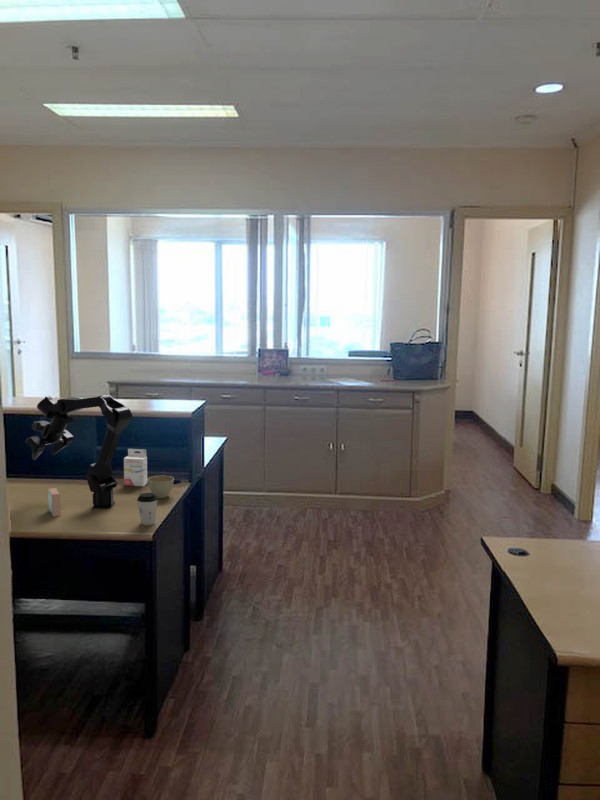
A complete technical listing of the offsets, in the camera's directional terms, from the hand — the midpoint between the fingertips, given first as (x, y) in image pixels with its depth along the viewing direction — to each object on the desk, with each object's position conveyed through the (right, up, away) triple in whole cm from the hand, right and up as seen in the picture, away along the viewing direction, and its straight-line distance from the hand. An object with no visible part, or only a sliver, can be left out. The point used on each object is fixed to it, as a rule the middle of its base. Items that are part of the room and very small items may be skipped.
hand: (42, 457), depth 236 cm
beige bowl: (+46, -16, +2) cm, 48 cm away
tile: (+12, -18, -19) cm, 29 cm away
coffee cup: (+48, -20, -28) cm, 59 cm away
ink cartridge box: (+31, -13, +18) cm, 38 cm away
